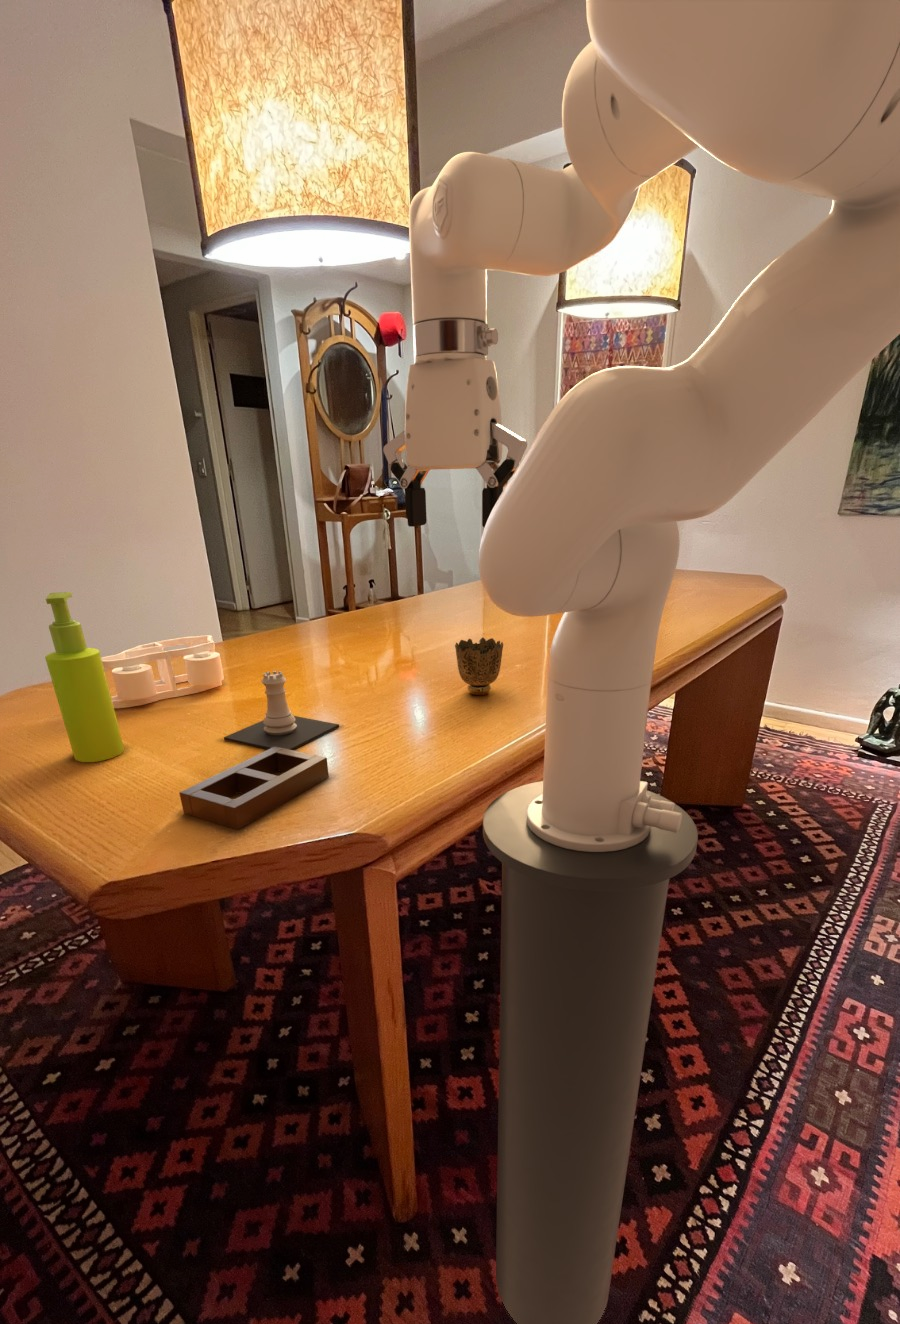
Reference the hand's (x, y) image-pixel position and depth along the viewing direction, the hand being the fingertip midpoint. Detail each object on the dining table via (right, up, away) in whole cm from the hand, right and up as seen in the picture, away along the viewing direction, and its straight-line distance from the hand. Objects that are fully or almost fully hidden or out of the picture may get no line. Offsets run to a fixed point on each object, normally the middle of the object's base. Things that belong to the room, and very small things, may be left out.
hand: (453, 526), depth 77 cm
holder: (-22, -31, -2) cm, 38 cm away
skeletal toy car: (-47, -14, +34) cm, 59 cm away
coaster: (-23, -22, +16) cm, 36 cm away
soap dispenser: (-46, -25, +11) cm, 54 cm away
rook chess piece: (-24, -22, +16) cm, 36 cm away
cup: (+4, -14, +30) cm, 34 cm away
